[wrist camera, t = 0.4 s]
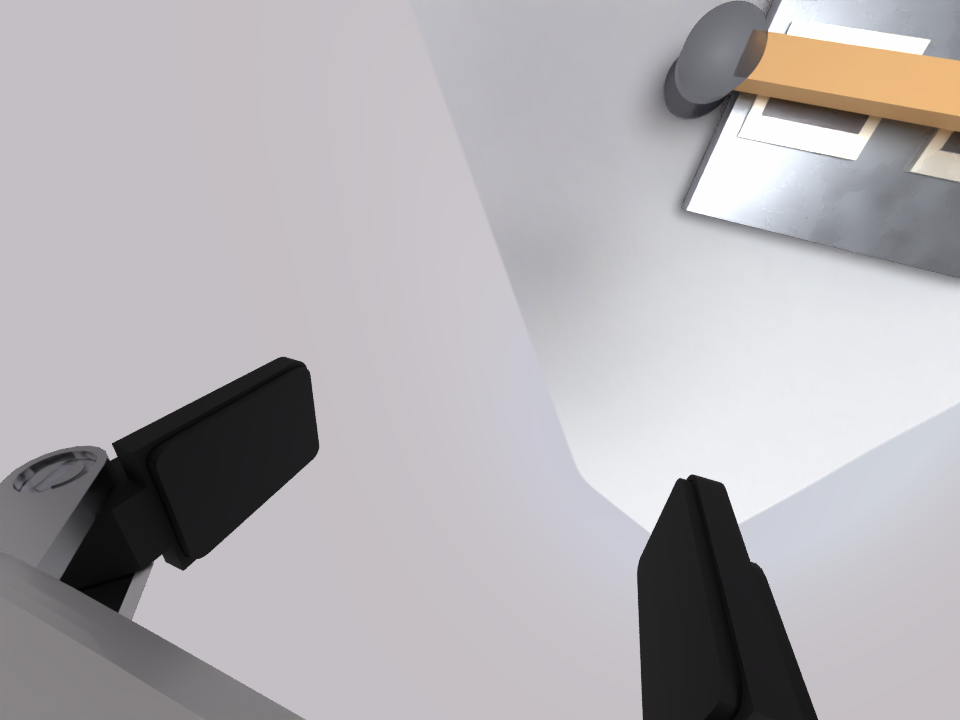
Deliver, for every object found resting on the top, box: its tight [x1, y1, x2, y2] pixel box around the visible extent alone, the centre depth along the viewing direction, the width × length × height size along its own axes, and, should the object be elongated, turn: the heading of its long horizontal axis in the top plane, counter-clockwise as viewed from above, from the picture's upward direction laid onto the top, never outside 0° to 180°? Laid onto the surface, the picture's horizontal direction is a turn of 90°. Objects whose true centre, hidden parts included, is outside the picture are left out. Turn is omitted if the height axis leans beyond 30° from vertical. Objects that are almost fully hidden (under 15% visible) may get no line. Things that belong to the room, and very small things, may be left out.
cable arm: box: [675, 1, 960, 132], centre depth 19 cm, size 26×4×4 cm, turn 76°
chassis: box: [681, 0, 960, 278], centre depth 23 cm, size 16×20×4 cm
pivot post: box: [664, 58, 727, 119], centre depth 25 cm, size 4×4×4 cm
